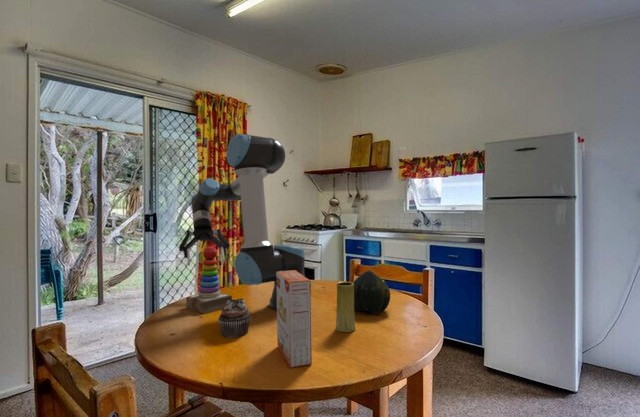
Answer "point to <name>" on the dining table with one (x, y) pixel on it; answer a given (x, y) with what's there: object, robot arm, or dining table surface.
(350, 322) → the vase
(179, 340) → the dining table surface
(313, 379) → the dining table surface
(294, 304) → the cracker box
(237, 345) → the dining table surface
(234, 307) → the cupcake
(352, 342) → the dining table surface
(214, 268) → the stacking toy
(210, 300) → the plinth
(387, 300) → the squash
